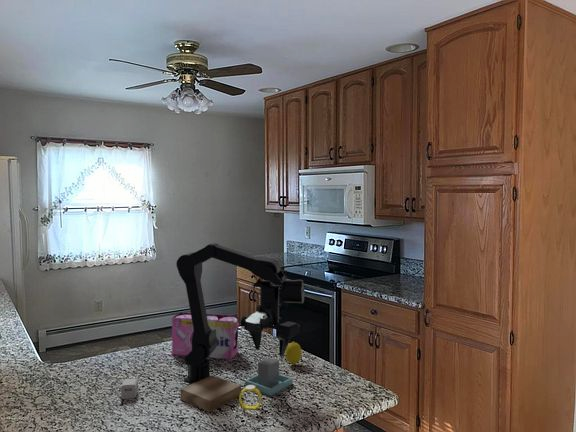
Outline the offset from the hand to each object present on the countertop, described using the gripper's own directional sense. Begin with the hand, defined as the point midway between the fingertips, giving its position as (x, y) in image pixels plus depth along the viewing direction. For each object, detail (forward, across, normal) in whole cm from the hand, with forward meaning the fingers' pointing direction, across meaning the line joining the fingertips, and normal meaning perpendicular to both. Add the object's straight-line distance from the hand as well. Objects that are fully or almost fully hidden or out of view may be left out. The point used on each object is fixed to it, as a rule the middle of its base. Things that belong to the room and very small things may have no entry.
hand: (269, 352), depth 135 cm
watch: (+10, +5, -14) cm, 18 cm away
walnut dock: (+10, -8, -16) cm, 21 cm away
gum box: (+10, -36, +7) cm, 38 cm away
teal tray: (+10, 0, 0) cm, 10 cm away
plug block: (+10, 0, 0) cm, 10 cm away
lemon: (+10, -4, +18) cm, 21 cm away
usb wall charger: (+10, -29, -28) cm, 42 cm away
